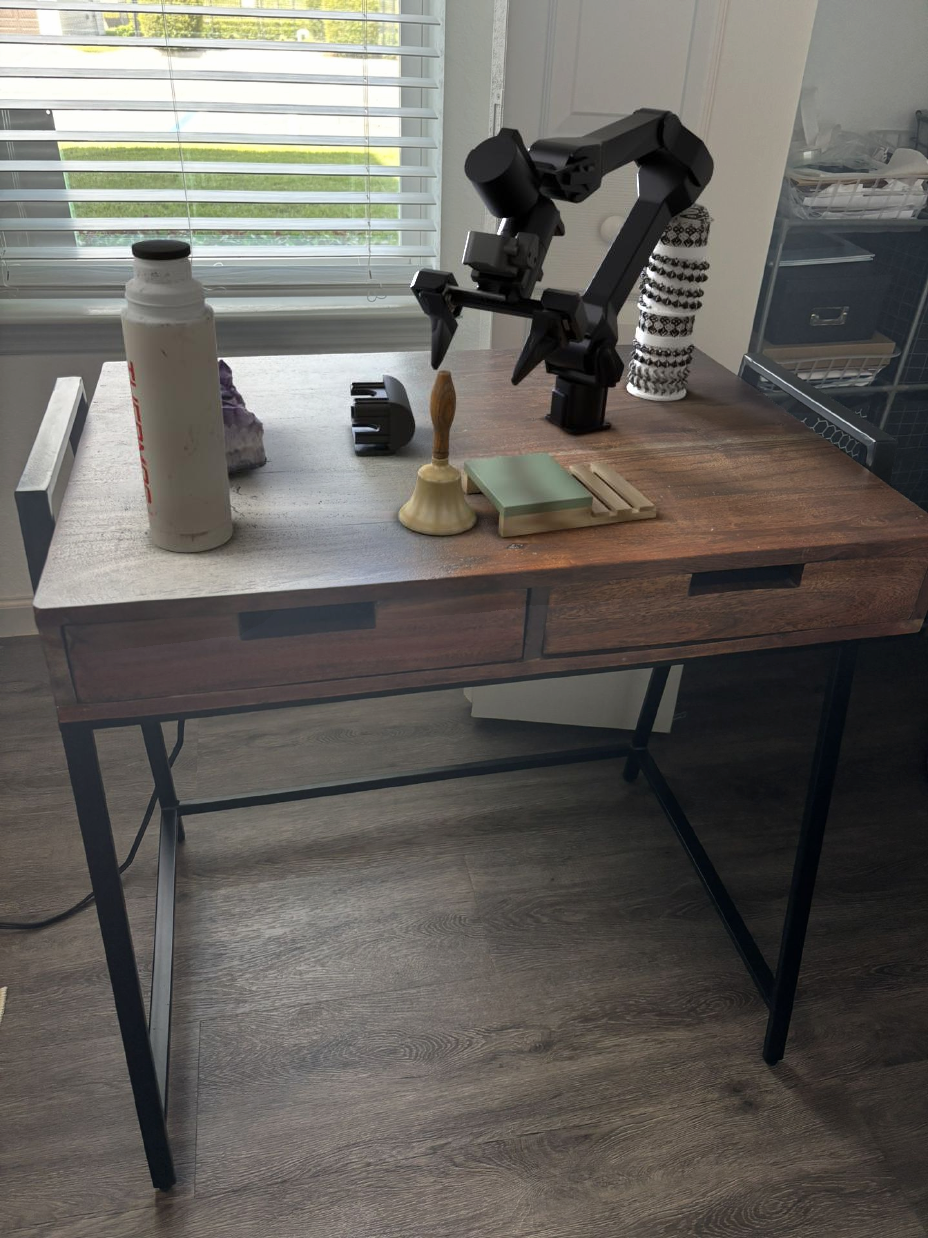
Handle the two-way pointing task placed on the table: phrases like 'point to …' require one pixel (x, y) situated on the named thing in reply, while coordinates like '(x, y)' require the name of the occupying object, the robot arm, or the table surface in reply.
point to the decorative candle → (670, 308)
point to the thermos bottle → (176, 399)
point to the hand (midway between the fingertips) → (473, 375)
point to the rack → (552, 493)
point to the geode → (239, 427)
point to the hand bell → (439, 475)
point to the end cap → (381, 417)
